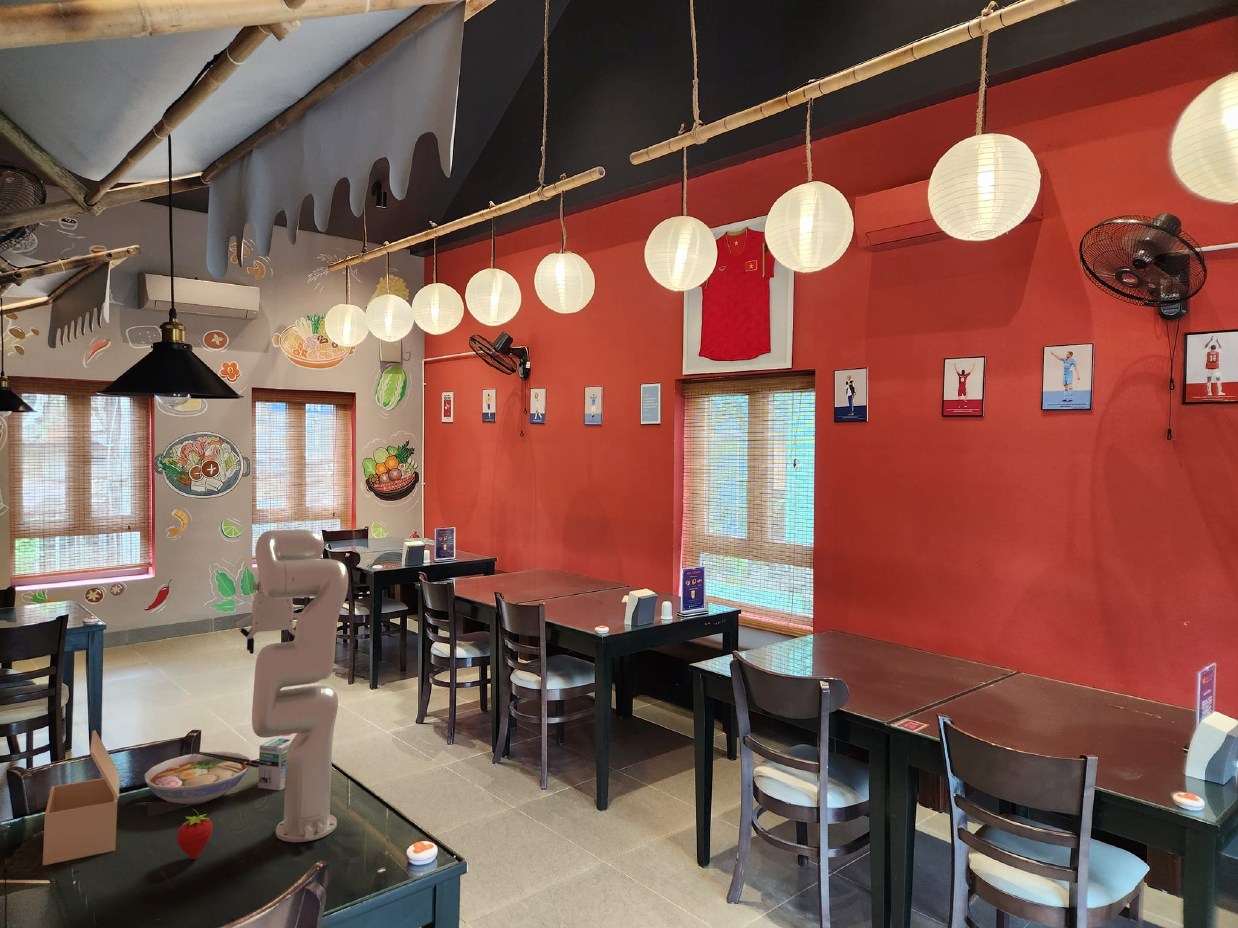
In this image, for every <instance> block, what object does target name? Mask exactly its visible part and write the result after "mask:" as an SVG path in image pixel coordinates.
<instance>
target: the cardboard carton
mask: <svg viewBox="0 0 1238 928" xmlns="http://www.w3.org/2000/svg"><path fill="white" fill-rule="evenodd" d="M46 805H47V806H46V809H45V813H44V831H43V850H42V851H43V852H42V853H43V854H42V866H47V865H52V864H56V863H61V862H66V861H71V860H77V859H81V858H86V857H91V856H96V855H100V854H105V853H110V852H114V851H116V843H117V819H118V816H117V815H118V799H116V798H115V797H114V795H113V793H112V791H111V790H110V788H109V786H108V784H107V783H106V781H105V779H104V777H101V778H95V779H89V780H83V781H77V782H71V783H66V784H65V783H63V784H59V785H54V786H53V785H52V786H51V788H50V792H49V796H48V800H47V804H46Z"/></svg>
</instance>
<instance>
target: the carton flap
mask: <svg viewBox="0 0 1238 928" xmlns="http://www.w3.org/2000/svg"><path fill="white" fill-rule="evenodd" d="M89 749H90V750H89V755H90V756H91V758H92V760H93V762H94V763H95V765H96V767H97V769H98V770H99V772H100V774H101V776H102V778H104V779H105V781H106V783H107V784H108V786H109V788H110V790H111V791H112V793H113V795H114V797H115V798H116V799H117V800H118V799H120V771H119V770H118V768H117V767H116V765H115V763H114V761H113V759H112V758H111V756H110V754H109V752H108V750H107V748H106V746H105V745H104V743H103V741H102V740H101V738H100V736H99V734H98V733H97V730H96V729H94V730H92V733H91V741H90V748H89Z"/></svg>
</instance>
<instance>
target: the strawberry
mask: <svg viewBox="0 0 1238 928" xmlns="http://www.w3.org/2000/svg"><path fill="white" fill-rule="evenodd" d="M192 810H193V811H195V809H194V808H192ZM207 814H208V813H206V814H201V815H200V814H199V812H197V816H195V815H194V816H184V818H185V819H187V820H188V821H185V822H184V823H182V824H181V825H182V826H180V828H179V830H178V831H177V833H176V840H177V845H178V847H179V848H180V850H182V851H183V852H184V854H186V855H187V856H188V857H189V858H190V859H191V860H196V859H198V858H199V857H200V855H201V854H202V852H203V850H205V847H206V846H207V844H208V843H209V840H211V836H212V834H213V830H214V825H213V822H212V821H211V820H210V819H211V818H210V817H205V816H206V815H207Z"/></svg>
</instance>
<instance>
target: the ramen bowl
mask: <svg viewBox="0 0 1238 928" xmlns="http://www.w3.org/2000/svg"><path fill="white" fill-rule="evenodd" d="M186 752H188V753H189V754H185V755H182V756H178V757H174V758H171V759H168V760H165V761H163V762H160V763H158V764H156V765H153V766H152V767H151V768H149V770H147V771H146V772H145V773H144V781H145V783H146V786H148V788H149V789H150V790H151V792H153V793H154V794H155V795H156V796H157V797H159V798H160V799H162V800H164V801H167V802H168V803H175V804H183V805H187V804H194V805H201V804H205V803H207V801H208V802H209V801H212V800H214V799H216V798H219V797H221V796H222V795H225V794H226V793H228V792H230V791H231V790H232V789H234V788H235V787H236V786H237V785H238V784H239V783H240V782H241V780H242V779H243V777H244V776H245V774H246V773H247V772H248V770H249V769H250V767H252V768H259V765H265V762H262V761H259V760H255V759H250V758H251V757H250V756H249V755H245V754H243V753H240V752H233V751H224V750H223V751H222V750H221V751H219V750H218V751H203V752H202V751H198V750H192V749H186ZM190 753H191V754H190ZM200 803H201V804H200Z"/></svg>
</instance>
